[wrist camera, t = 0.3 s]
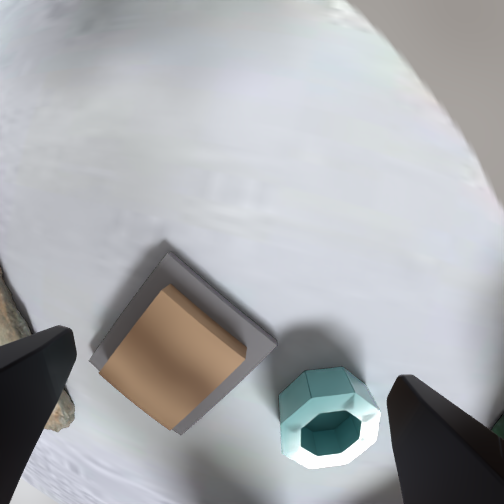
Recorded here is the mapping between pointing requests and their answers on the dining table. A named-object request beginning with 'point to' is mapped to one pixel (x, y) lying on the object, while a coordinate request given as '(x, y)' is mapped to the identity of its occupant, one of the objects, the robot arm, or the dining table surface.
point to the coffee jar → (499, 427)
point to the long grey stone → (15, 327)
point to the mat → (210, 304)
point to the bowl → (327, 418)
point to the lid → (172, 358)
